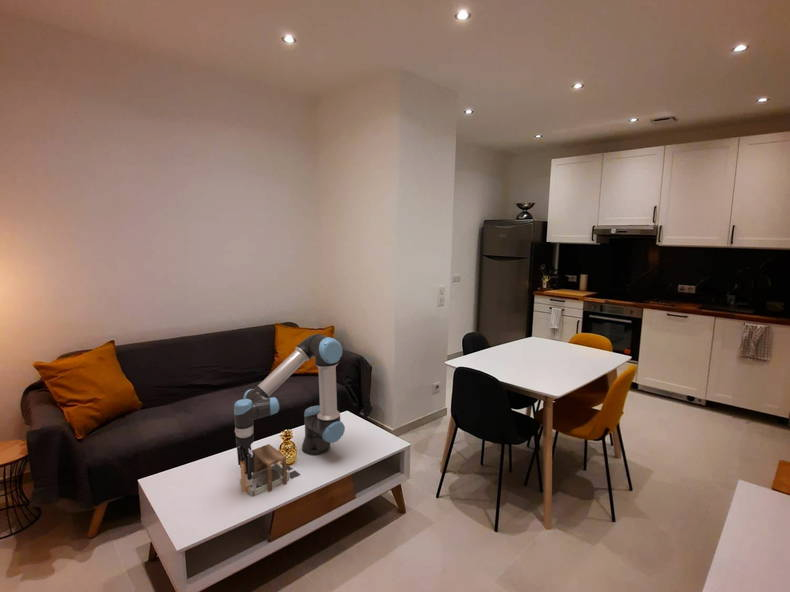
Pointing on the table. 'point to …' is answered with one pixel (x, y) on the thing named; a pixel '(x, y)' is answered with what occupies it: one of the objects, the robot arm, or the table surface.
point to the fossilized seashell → (266, 478)
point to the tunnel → (269, 462)
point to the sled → (255, 475)
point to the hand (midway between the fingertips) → (246, 483)
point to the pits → (293, 473)
